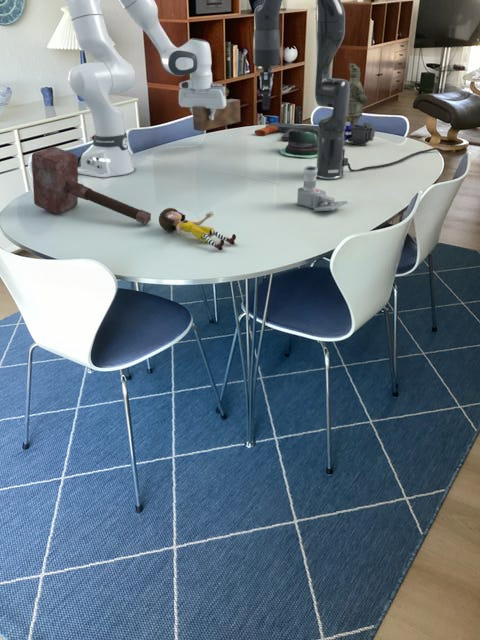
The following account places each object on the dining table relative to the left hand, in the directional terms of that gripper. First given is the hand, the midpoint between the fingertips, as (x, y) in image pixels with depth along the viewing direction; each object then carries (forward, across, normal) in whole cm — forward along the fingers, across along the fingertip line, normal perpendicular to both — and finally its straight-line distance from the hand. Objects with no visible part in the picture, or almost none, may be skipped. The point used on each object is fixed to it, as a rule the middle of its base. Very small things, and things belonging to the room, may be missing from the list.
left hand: (203, 119), depth 230 cm
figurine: (+14, -38, +88) cm, 97 cm away
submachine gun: (+14, -24, -44) cm, 52 cm away
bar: (+4, -3, -8) cm, 9 cm away
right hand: (-15, -46, +51) cm, 70 cm away
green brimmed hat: (+14, -39, -14) cm, 44 cm away
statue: (+14, -51, -62) cm, 81 cm away
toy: (+14, -57, -36) cm, 69 cm away
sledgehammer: (+14, -1, +82) cm, 83 cm away
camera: (+14, -64, +52) cm, 84 cm away
